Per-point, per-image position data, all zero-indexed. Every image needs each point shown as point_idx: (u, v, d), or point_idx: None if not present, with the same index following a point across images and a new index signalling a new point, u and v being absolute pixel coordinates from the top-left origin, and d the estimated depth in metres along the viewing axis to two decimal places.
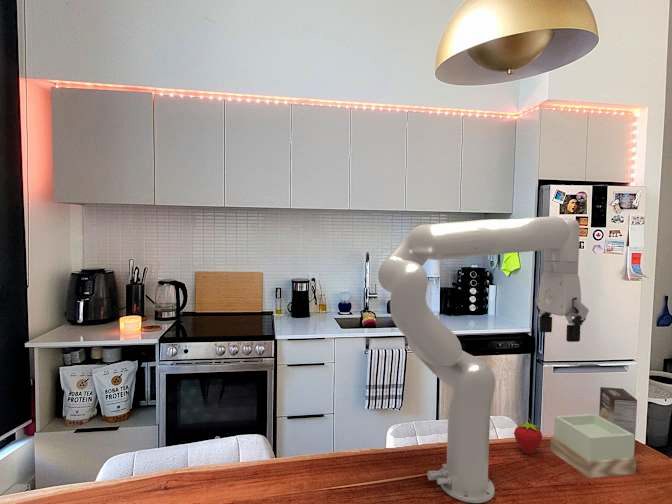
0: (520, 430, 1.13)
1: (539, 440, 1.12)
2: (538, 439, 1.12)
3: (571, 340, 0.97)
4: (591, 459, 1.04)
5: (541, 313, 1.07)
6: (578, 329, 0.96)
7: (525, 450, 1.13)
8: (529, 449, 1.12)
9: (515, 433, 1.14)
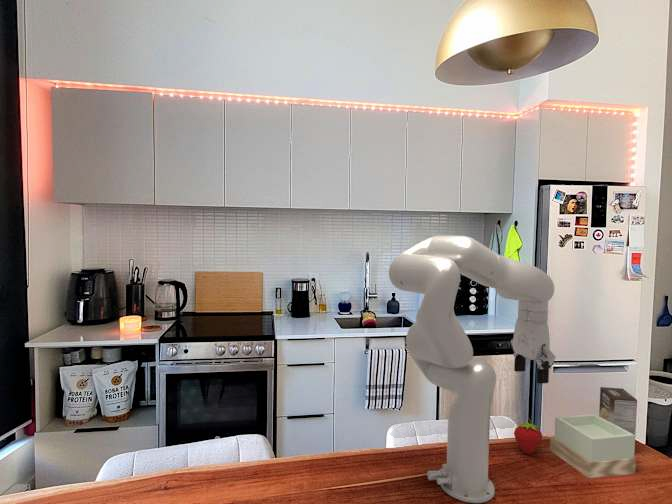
0: (520, 430, 1.13)
1: (539, 440, 1.12)
2: (538, 439, 1.12)
3: (540, 382, 1.09)
4: (592, 460, 1.03)
5: (516, 354, 1.18)
6: (547, 372, 1.08)
7: (525, 450, 1.13)
8: (529, 449, 1.12)
9: (515, 433, 1.14)
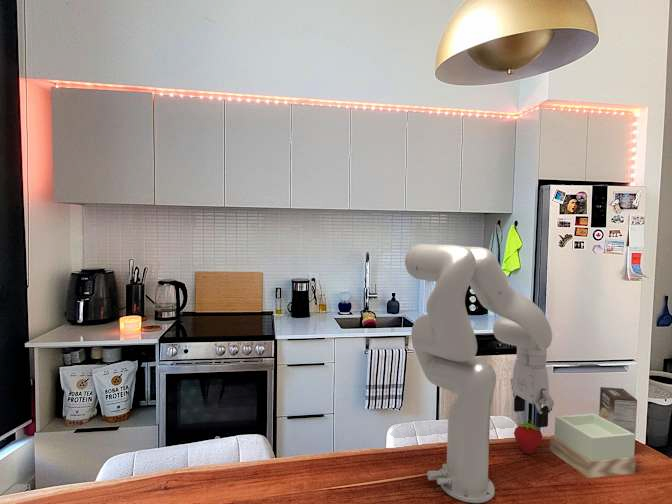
0: (520, 430, 1.13)
1: (539, 440, 1.12)
2: (538, 439, 1.12)
3: (540, 426, 1.09)
4: (593, 459, 1.03)
5: (515, 394, 1.19)
6: (546, 416, 1.09)
7: (525, 450, 1.13)
8: (529, 449, 1.12)
9: (515, 433, 1.14)
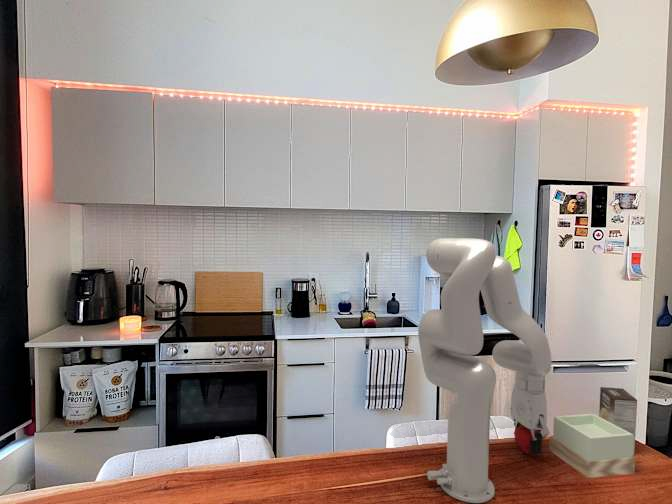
0: (520, 430, 1.13)
1: None
2: None
3: (534, 452, 1.11)
4: (591, 459, 1.03)
5: (516, 423, 1.17)
6: (540, 443, 1.10)
7: (525, 450, 1.13)
8: (529, 449, 1.12)
9: (515, 433, 1.14)
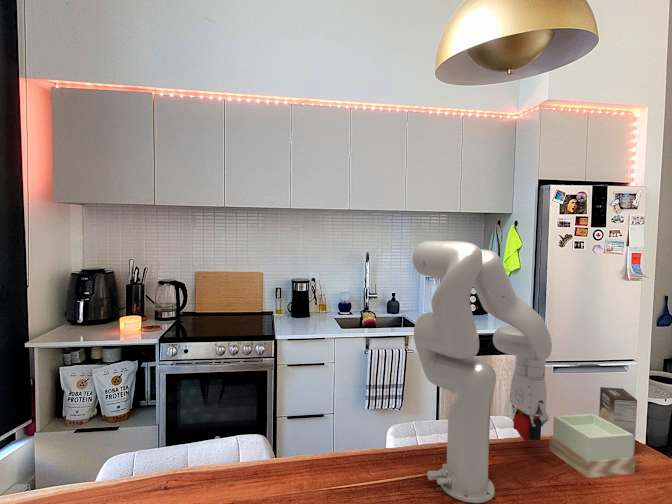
0: (519, 417, 1.13)
1: None
2: None
3: (533, 439, 1.10)
4: (590, 459, 1.03)
5: (515, 411, 1.17)
6: (539, 430, 1.09)
7: (524, 437, 1.13)
8: (528, 436, 1.12)
9: (514, 420, 1.14)
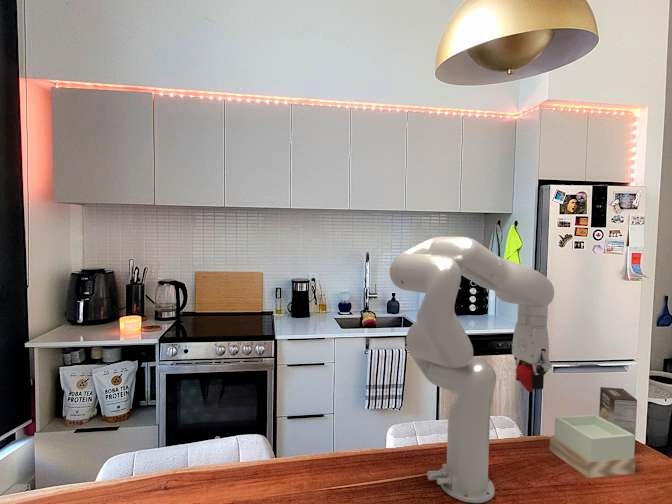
0: (522, 367, 1.13)
1: None
2: None
3: (535, 388, 1.10)
4: (592, 460, 1.03)
5: (517, 362, 1.17)
6: (542, 378, 1.09)
7: (527, 387, 1.13)
8: (531, 385, 1.12)
9: (517, 370, 1.13)
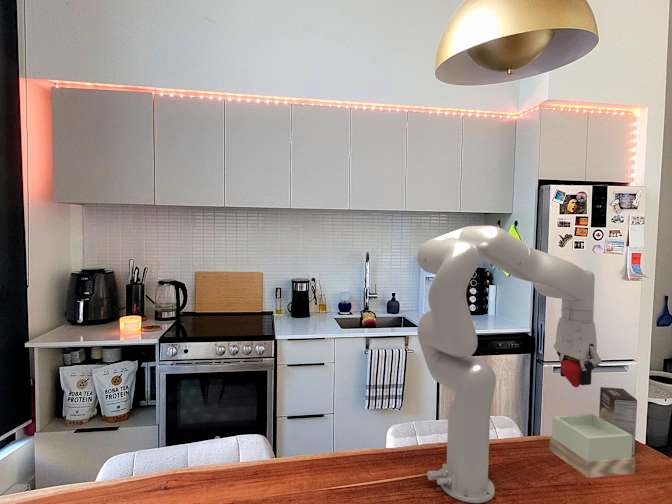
0: (568, 362, 1.11)
1: None
2: None
3: (583, 383, 1.08)
4: (589, 459, 1.03)
5: (561, 358, 1.15)
6: (590, 374, 1.07)
7: (573, 383, 1.11)
8: (578, 381, 1.10)
9: (562, 366, 1.11)
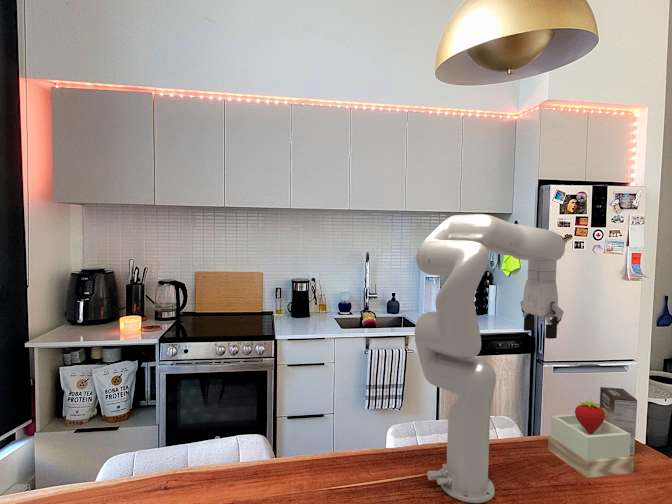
0: (582, 408, 1.10)
1: (602, 418, 1.09)
2: (602, 417, 1.09)
3: (549, 337, 1.15)
4: (588, 458, 1.04)
5: (525, 314, 1.25)
6: (555, 328, 1.15)
7: (588, 429, 1.10)
8: (592, 428, 1.09)
9: (576, 412, 1.11)
